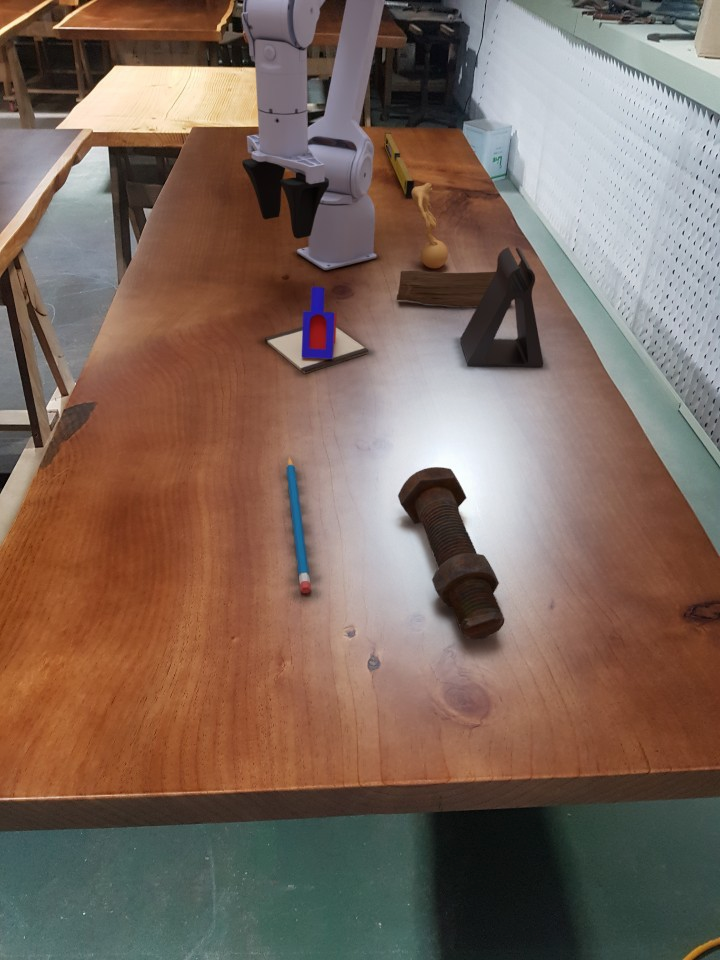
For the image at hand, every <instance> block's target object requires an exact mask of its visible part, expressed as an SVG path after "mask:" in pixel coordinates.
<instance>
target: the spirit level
mask: <svg viewBox="0 0 720 960" xmlns="http://www.w3.org/2000/svg"><path fill="white" fill-rule="evenodd" d="M384 141H385V143H386V144H388V146H387V145H386V144H385V143H384V142H383V143H384V144H383V148H384V149H385V151H386V154H387V156H388V158H389V160H390V163H391V165H392V168H393V169H394V172H395V174H396V177H397V179H398V181H399V183H400V186H401V188H402V190H403V193H404V195H405V199H413V198H412V190H413V188H415V180H413V178H412V176H411V174H410V171H409V169H408V167H407V165H406V163H405V161H404V159H403V157H401V153H400V151H399V148H398V146H397V144H396V143H395V140H394V138H393V136H392V133H391V132H385V133H384ZM388 147H389V148H388Z"/></svg>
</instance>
